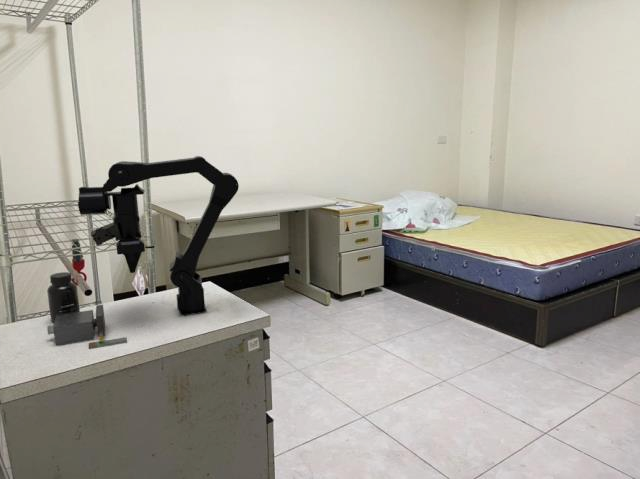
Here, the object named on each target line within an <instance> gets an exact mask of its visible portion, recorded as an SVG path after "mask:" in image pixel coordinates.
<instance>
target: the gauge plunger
mask: <svg viewBox="0 0 640 479" xmlns="http://www.w3.org/2000/svg"><path fill="white" fill-rule="evenodd" d="M95 307H96V308H95V318H94V319H93V320H92V321H93V328H94V327H95V328H96V331H97V337H98V341H99V342H100V341H103V340H104V337H105V336H106V319H105V311H104V304H97V305H96V306H95ZM53 325H54V324H53ZM53 325H52V324H50V325H47V327H46V330H47V335H54V331H53Z"/></svg>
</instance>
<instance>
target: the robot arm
mask: <svg viewBox="0 0 640 479" xmlns="http://www.w3.org/2000/svg"><path fill="white" fill-rule="evenodd" d="M194 173H196V174H199V175H200V176H202V177H203V178H205V179H206V180H207V181H208V182H209V183H211V185H212V188H211V193H210V197H209V202H208V203H207V206H206V208H205V210H204V211H203V214H202V216H201V218H200V219H199V221H198V224H197V226H196V228H195V230H194V232H193V233H192V236H191V238H190V240H189V242H188V244H187V245H186V248H185V249H184V250H183V251H182V252H181V253H180V252H178V251H176V252H175V255H174V259H173V260H172V261H171V263H170V264H169V272H170V274H169V276H170V277H169V279H170V281H171V284H173V285H174V286H175V287H177V291H178V292H177V294H176V307H177V310H178V312H179V313H180V315H181V316H183V317H184V316H189V315H190V316H191V315H196V314H201V313H202V314H203V313H207V308H206V306H205V305H206V304H205V292H204V291H205V289H204V287H203V284H202V283H203V282H202V276H201V275H200V274H199V273H198V272H197V271H196V270H197V266H198V262H199V258H200V255H201V253H202V251H203V250H204V248H205V245H206V243H207V241H208V240H209V238H210V235H211V233H212V232H213V229H214V228H215V225H216V224H217V221H218V219H219V217H220V216H221V213H222V211H223V210H224V209H225V208H226V207H227V206H228V204H229V203H230V202H231V201H232V200H233V198H234V197H235V195H236V194H237V193H238V191H239V188H240V187H239V182H238V180H237V179H236V177H235V176H234V175H232V174H231V173H228V172H222V171H221V170H219V169H218V168H217V167H216V166H215V165H213V164H211V163H210V162H209V161H208V160H206V158H205V157H203V156H201V155H197V156H194V157H189V158H186V157H185V158H180V159H179V158H178V159H172V160H171V159H170V160H164V161H163V160H162V161H156V162H141V161H139V162H138V161H124V160H122V161H119V162H116V163H114V164H112V165H111V166H110V168H109V169H108V173H107V174H108V176H107V177H108V178H107V180H106V182H105V183H103V186H92V187H89V186H80V187H79V188H78V192H79V193H78V202H77V207H78V211H79V214H80V215H81V216H86V215H88V216H90V215H92V216H93V215H106V214H107V212H108V210H109V211H110V210H113V216H114V217H113V218H112V220H113V222H111V223H108V224H106V225H103V226H100V227H99V228H95V229H94V230H92V231H91V232H90V236H91V238H92V241H94V244H95V245H96V246H101V245H103V244H104V243H106V242H108V241H110V240H112V239H115V241H116V243H115V246H116V253H117V254H116V255H123V256H124V258H125V261H126V265H127V267H128V271H129V272H130V274H133V273H134V274H135V273H136V270H137V266H138V264H139V260H140V259H141V255H142V253H145V251H146V248H145V247H146V246H145V242H144V240H143V239H142V232H141V225H140V224H141V223H140V222H141V220H140V214H139V204H138V196H139V195H144V194H145V192H146V191H145V189H143V188H142V187H140V185H139V184H138V183H140V182H142V181H143V182H144V181H145V180H149V179H154V178H161V177H171V176H177V175H179V176H180V175H187V174H194ZM134 184H135V186H134V187H127V186H131V185H134ZM118 187H120V191H114V190H115V189H116V188H118ZM137 195H138V196H137ZM111 198H112V199H111ZM112 208H113V209H112Z"/></svg>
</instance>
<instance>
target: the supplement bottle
mask: <svg viewBox="0 0 640 479" xmlns="http://www.w3.org/2000/svg"><path fill="white" fill-rule="evenodd" d="M49 282H50V285H49V286H48V288H47V299H48V301H47V302H48V306H49V308H48V309H49V316H50V320H51V322H53V323H54V322H55V318H56V315H60V314H67V313H74V312H81V310H80V309H81V308H80V301H79V293H78V285H77V284H76V283H74V282H73V276H72V273H71V272H65V271H63V272H62V271H61V272H56V273H53V274H51V275H50V281H49Z"/></svg>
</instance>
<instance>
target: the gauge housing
mask: <svg viewBox="0 0 640 479" xmlns="http://www.w3.org/2000/svg"><path fill="white" fill-rule="evenodd" d="M93 319H95V315H94V309H89V310H83V311H81V310H80V312H74V313H67V314H60V315H56V318H55V322H53V331H54V334H53V336H54V338H53V339H54V343H55V344H54V345H55V346H56V347H57V346H62V345H69V344H73V343H82V342H87V341H93V340H95V330H96V327H94V328H93V321H92V320H93ZM127 339H128V338H127V336H126V337H120V338H113V339H103V341H100V342H99V340H97V341H93V342H88V349H89V350H91V349H97V348H102V347H109V346H113V345H121V344H125V343H128V340H127Z"/></svg>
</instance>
